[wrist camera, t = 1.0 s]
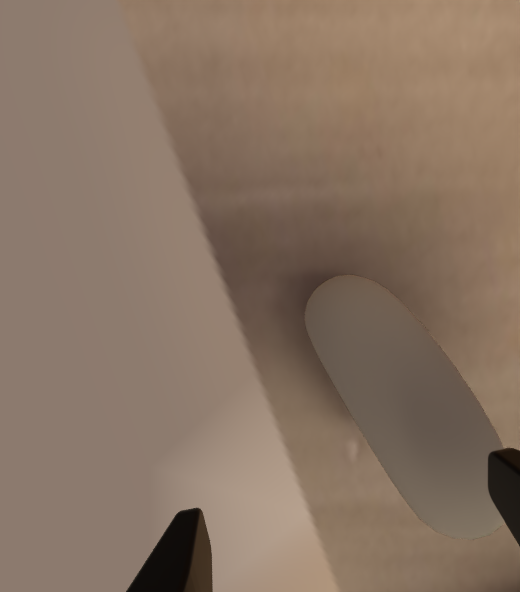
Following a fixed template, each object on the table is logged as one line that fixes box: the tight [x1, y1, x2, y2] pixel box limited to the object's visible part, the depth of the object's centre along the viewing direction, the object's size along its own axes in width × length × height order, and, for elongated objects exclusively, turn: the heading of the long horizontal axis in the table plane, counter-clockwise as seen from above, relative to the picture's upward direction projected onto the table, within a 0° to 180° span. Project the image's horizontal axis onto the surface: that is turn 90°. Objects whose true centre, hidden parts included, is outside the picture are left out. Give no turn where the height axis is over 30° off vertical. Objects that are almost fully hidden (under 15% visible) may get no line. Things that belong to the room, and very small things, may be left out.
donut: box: [305, 275, 505, 540], centre depth 15 cm, size 10×4×10 cm, turn 32°
